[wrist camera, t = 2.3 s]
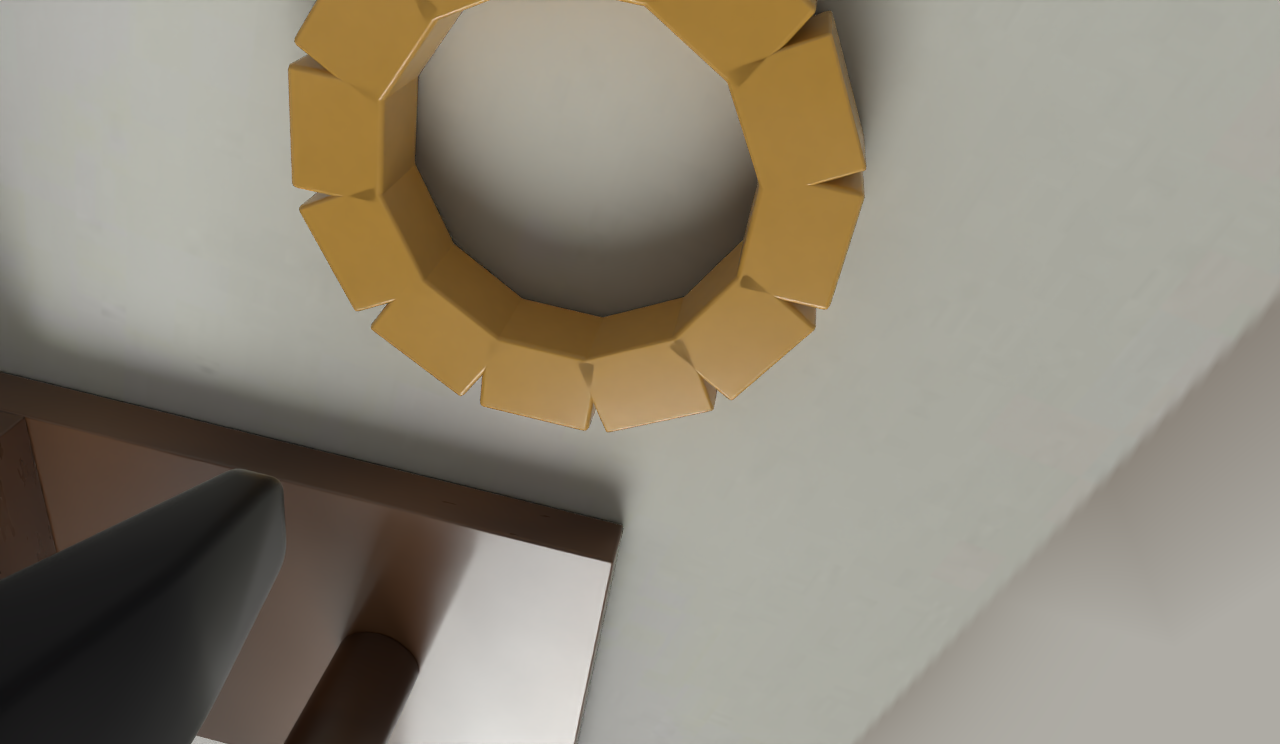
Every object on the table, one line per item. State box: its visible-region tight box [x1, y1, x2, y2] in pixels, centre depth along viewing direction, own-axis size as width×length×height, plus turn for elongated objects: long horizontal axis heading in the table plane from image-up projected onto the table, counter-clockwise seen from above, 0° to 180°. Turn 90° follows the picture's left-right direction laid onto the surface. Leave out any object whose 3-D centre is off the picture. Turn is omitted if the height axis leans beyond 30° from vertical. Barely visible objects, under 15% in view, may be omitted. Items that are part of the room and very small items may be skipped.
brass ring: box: [288, 0, 866, 432], centre depth 16 cm, size 9×9×2 cm
